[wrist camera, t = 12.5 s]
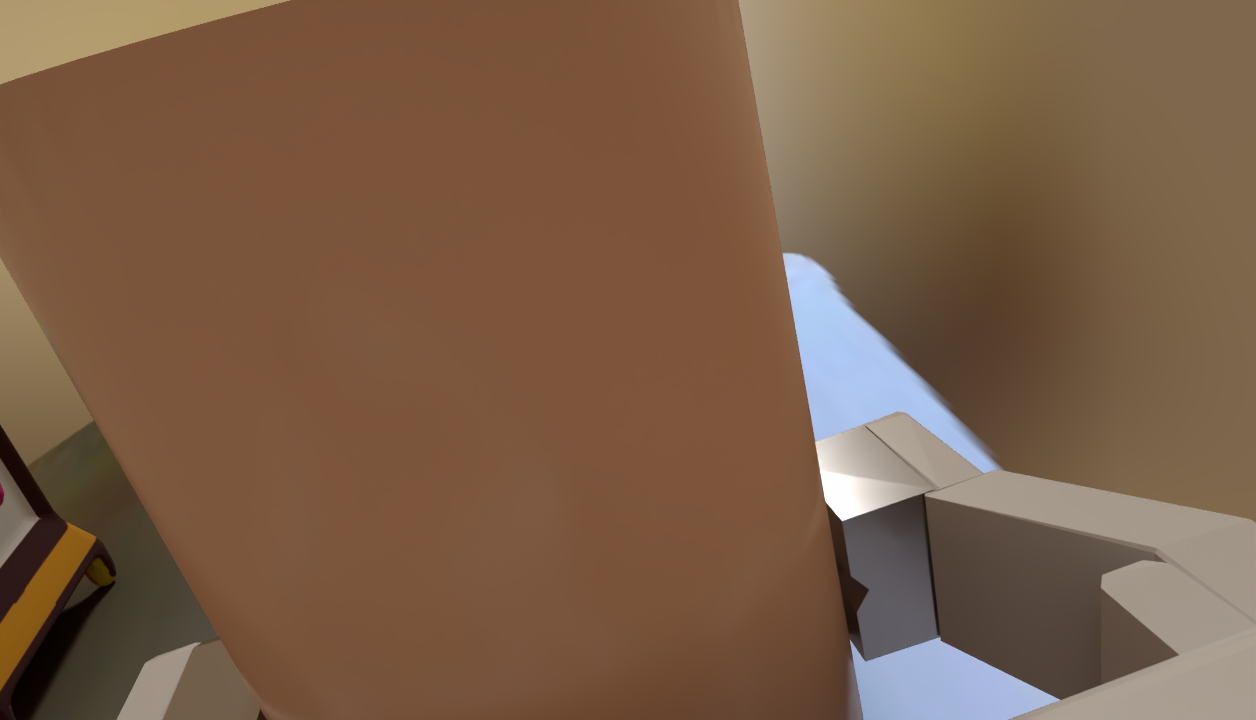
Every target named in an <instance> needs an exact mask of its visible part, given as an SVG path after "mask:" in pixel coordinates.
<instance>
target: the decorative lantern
mask: <svg viewBox="0 0 1256 720" xmlns="http://www.w3.org/2000/svg"><path fill="white" fill-rule="evenodd" d="M84 574H85V575H86V576H87V578H88V579H89V580H90V581H91V582H92V583H94V584H95V585H98V586H107V585H109V584H111V583H112V582H113V581H114V579H115V576H116V569H115V565H114V562H113V560H112V558H111V556H110V554H109V553H108V551H107V549H106V548H105V546H104V544H103V543H102V542H101V541H100V540H99V539H98V538H96V537H95V536H93V535H91V534H89V533H87V532H85V531H83V530H81V529H79V528H77V527H75V526H73V525H71V524H69V523H67V522H65V521H64V520H63V519H61V518H60V517H59V516H58V515H57V514H56V512H55V511H54V510H53V509H52V507H51V505H50V504H49V502H48V501H47V499H46V497H45V496H44V494H43V492H42V491H41V489H40V488H39V486H38V484H37V483H36V481H35V480H34V478H33V476H32V475H31V473H30V472H29V470H28V468H27V467H26V465H25V464H24V462H23V460H22V459H21V457H20V456H19V454H18V452H17V451H16V449H15V448H14V446H13V444H12V443H11V441H10V440H9V438H8V436H7V435H6V433H5V431H4V430H3V428H2V427H1V425H0V720H16V718H15V716H14V714H13V711H12V708H11V697H12V694H13V692H14V690H15V687H16V685H17V683H18V682H19V680H20V678H21V677H22V675H23V673H24V672H25V670H26V669H27V667H28V665H29V664H30V662H31V660H32V659H33V657H34V656H35V654H36V652H37V651H38V649H39V647H40V646H41V644H42V642H43V641H44V639H45V638H46V636H47V634H48V633H49V631H50V629H51V628H52V626H53V625H54V623H55V621H56V620H57V618H58V616H59V615H60V613H61V611H62V610H63V608H64V607H65V605H66V603H67V602H68V600H69V598H70V597H71V595H72V593H73V592H74V590H75V589H76V587H77V585H78V584H79V582H80V580H81V579H82V577H83V576H84Z"/></svg>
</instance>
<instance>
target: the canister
mask: <svg viewBox="0 0 1256 720" xmlns="http://www.w3.org/2000/svg"><path fill="white" fill-rule="evenodd" d="M0 257H1V259H2V261H3V263H4V264H5V266H6V268H7V270H8V271H9V273H10V275H11V276H12V278H13V280H14V282H15V283H16V285H17V287H18V289H19V290H20V292H21V294H22V296H23V297H24V299H25V301H26V303H27V304H28V306H29V308H30V310H31V311H32V313H33V315H34V317H35V318H36V320H37V322H38V323H39V325H40V327H41V329H42V330H43V332H44V334H45V335H46V337H47V339H48V341H49V343H50V344H51V346H52V348H53V349H54V351H55V353H56V355H57V356H58V358H59V360H60V362H61V363H62V365H63V367H64V369H65V370H66V372H67V374H68V376H69V377H70V379H71V381H72V382H73V384H74V386H75V387H76V390H77V391H78V393H79V395H80V396H81V398H82V400H83V402H84V403H85V405H86V407H87V409H88V410H89V412H90V414H91V415H92V417H93V419H94V421H95V423H96V424H97V426H98V428H99V429H100V431H101V433H102V435H103V436H104V438H105V440H106V442H107V443H108V445H109V447H110V449H111V450H112V452H113V454H114V456H115V457H116V459H117V461H118V463H119V464H120V466H121V468H122V469H123V471H124V473H125V475H126V476H127V478H128V480H129V482H130V483H131V485H132V487H133V489H134V490H135V492H136V494H137V496H138V497H139V499H140V501H141V502H142V504H143V506H144V508H145V509H146V511H147V513H148V515H149V516H150V518H151V520H152V522H153V523H154V525H155V527H156V529H157V530H158V532H159V534H160V535H161V537H162V539H163V541H164V542H165V544H166V546H167V548H168V549H169V551H170V553H171V555H172V556H173V558H174V560H175V562H176V563H177V565H178V567H179V569H180V570H181V572H182V574H183V575H184V577H185V579H186V581H187V582H188V584H189V586H190V588H191V589H192V591H193V593H194V595H195V596H196V598H197V600H198V602H199V603H200V605H201V607H202V608H203V610H204V612H205V614H206V615H207V617H208V619H209V621H210V622H211V624H212V626H213V628H214V629H215V631H216V633H217V635H218V636H219V638H220V640H221V642H222V643H223V645H224V647H225V648H226V650H227V652H228V654H229V655H230V657H231V659H232V661H233V662H234V664H235V666H236V668H237V669H238V671H239V673H240V675H241V676H242V678H243V680H244V681H245V683H246V685H247V687H248V688H249V690H250V692H251V694H252V695H253V697H254V699H255V701H256V702H257V704H258V706H259V708H260V709H261V711H262V713H263V715H264V716H265V718H266V720H864V719H863V713H862V708H861V702H860V696H859V691H858V685H857V679H856V673H855V668H854V662H853V656H852V650H851V645H850V639H849V633H848V627H847V622H846V616H845V610H844V604H843V599H842V593H841V587H840V582H839V576H838V570H837V564H836V559H835V553H834V547H833V541H832V536H831V530H830V524H829V518H828V513H827V507H826V501H825V495H824V490H823V484H822V478H821V473H820V467H819V461H818V455H817V450H816V444H815V438H814V432H813V427H812V421H811V415H810V409H809V404H808V398H807V392H806V386H805V381H804V375H803V369H802V364H801V358H800V352H799V346H798V341H797V335H796V329H795V323H794V318H793V312H792V306H791V300H790V295H789V289H788V283H787V278H786V272H785V266H784V260H783V255H782V249H781V243H780V237H779V232H778V226H777V221H776V215H775V209H774V203H773V198H772V191H771V186H770V180H769V174H768V169H767V163H766V157H765V151H764V146H763V140H762V134H761V128H760V123H759V117H758V112H757V106H756V100H755V95H754V89H753V83H752V78H751V71H750V65H749V60H748V54H747V48H746V42H745V37H744V31H743V25H742V19H741V14H740V8H739V2H738V0H290V1H286V2H283V3H279V4H275V5H272V6H267V7H264V8H260V9H256V10H253V11H249V12H245V13H241V14H237V15H233V16H230V17H226V18H222V19H218V20H215V21H211V22H207V23H204V24H200V25H197V26H193V27H190V28H186V29H182V30H179V31H175V32H171V33H168V34H164V35H161V36H157V37H153V38H150V39H146V40H143V41H139V42H136V43H132V44H129V45H126V46H122V47H119V48H115V49H112V50H109V51H105V52H102V53H98V54H95V55H92V56H88V57H85V58H81V59H78V60H75V61H72V62H68V63H65V64H62V65H59V66H56V67H53V68H49V69H46V70H43V71H40V72H37V73H34V74H30V75H27V76H24V77H21V78H18V79H15V80H12V81H9V82H7V83H3V84H1V85H0Z"/></svg>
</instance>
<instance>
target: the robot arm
mask: <svg viewBox="0 0 1256 720" xmlns="http://www.w3.org/2000/svg"><path fill="white" fill-rule="evenodd" d="M815 444H816V450H817V455H818V461H819V467H820V473H821V478H822V484H823V490H824V495H825V501H826V507H827V513H828V518H829V524H830V530H831V536H832V541H833V547H834V553H835V559H836V564H837V570H838V576H839V582H840V587H841V593H842V599H843V604H844V610H845V616H846V622H847V627H848V633H849V639H850V640H851V641H852V643H853V644H854V646H855V647H856V649H857V650H858V652H859V653H860V654H861V656H862V657H863V659H864V660H865V662H866V661H869V660H872V659H875V658H878V657H881V656H884V655H887V654H890V653H893V652H896V651H899V650H902V649H905V648H908V647H911V646H914V645H917V644H921V643H924V642H927V641H930V640H933V639H936V638H939V637H941V641H943V642H945V643H947V644H949V645H951V646H953V647H955V648H957V649H959V650H961V651H963V652H965V653H967V654H969V655H971V656H973V657H975V658H977V659H979V660H981V661H983V662H985V663H987V664H989V665H991V666H993V667H995V668H997V669H999V670H1001V671H1003V672H1005V673H1007V674H1009V675H1011V676H1013V677H1015V678H1017V679H1019V680H1021V681H1023V682H1026V683H1028V684H1030V685H1032V686H1034V687H1036V688H1038V689H1040V690H1042V691H1044V692H1046V693H1048V694H1050V695H1052V696H1054V697H1056V698H1058V699H1060V701H1057V702H1055V703H1052V704H1049V705H1047V706H1044V707H1041V708H1038V709H1036V710H1033V711H1030V712H1028V713H1025V714H1022V715H1020V716H1017V717H1014V718H1012V719H1009V720H1256V523H1255V522H1253V521H1252V520H1250V519H1246V518H1241V517H1236V516H1230V515H1226V514H1220V513H1215V512H1210V511H1205V510H1200V509H1195V508H1190V507H1185V506H1180V505H1174V504H1169V503H1165V502H1159V501H1154V500H1149V499H1144V498H1139V497H1134V496H1129V495H1124V494H1118V493H1114V492H1108V491H1103V490H1098V489H1093V488H1088V487H1083V486H1078V485H1072V484H1068V483H1062V482H1058V481H1052V480H1047V479H1042V478H1037V477H1032V476H1027V475H1022V474H1016V473H1011V472H1007V471H1001V470H994V471H991V472H988V473H985V474H984V473H983V472H981V471H980V470H979V469H977V468H976V467H975V466H974V465H972V464H971V463H970V462H968V461H967V460H966V459H965V458H963V457H962V456H961V455H959V454H958V453H957V452H956V451H954V450H953V449H952V448H950V447H949V446H948V445H947V444H945V443H944V442H943V441H941V440H940V439H939V438H938V437H936V436H935V435H934V434H932V433H931V432H930V431H929V430H927V429H926V428H925V427H923V426H922V425H921V424H920V423H918V422H917V421H916V420H914V419H913V418H912V417H911V416H909V415H908V414H907V413H903V412H895V413H893V414H890V415H887V416H885V417H882V418H879V419H876V420H874V421H871V422H868V423H866V424H863V425H860V426H859V427H856V428H853V429H850V430H847V431H845V432H842V433H839V434H836V435H833V436H831V437H828V438H825V439H822V440H819V441H817V442H815ZM117 720H266V718H265V716H264V715H263V713H262V711H261V709H260V708H259V706H258V704H257V702H256V701H255V699H254V697H253V695H252V694H251V692H250V690H249V688H248V687H247V685H246V683H245V681H244V680H243V678H242V676H241V675H240V673H239V671H238V669H237V668H236V666H235V664H234V662H233V661H232V659H231V657H230V655H229V654H228V652H227V650H226V648H225V647H224V645H223V643H222V642H221V640H220V638H219V636H218V637H215V638H211V639H208V640H205V641H203V642H201V643H194V644H191V645H188V646H185V647H182V648H179V649H176V650H173V651H171V652H168V653H165V654H162V655H159V656H156V657H155V658H153V659H151V660H150V661H148V662H146V663H145V664H144V666H143V668H142V670H141V672H140V674H139V676H138V678H137V680H136V682H135V684H134V686H133V688H132V690H131V692H130V694H129V696H128V698H127V700H126V702H125V704H124V706H123V708H122V710H121V712H120V714H119V716H118V718H117Z"/></svg>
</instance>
